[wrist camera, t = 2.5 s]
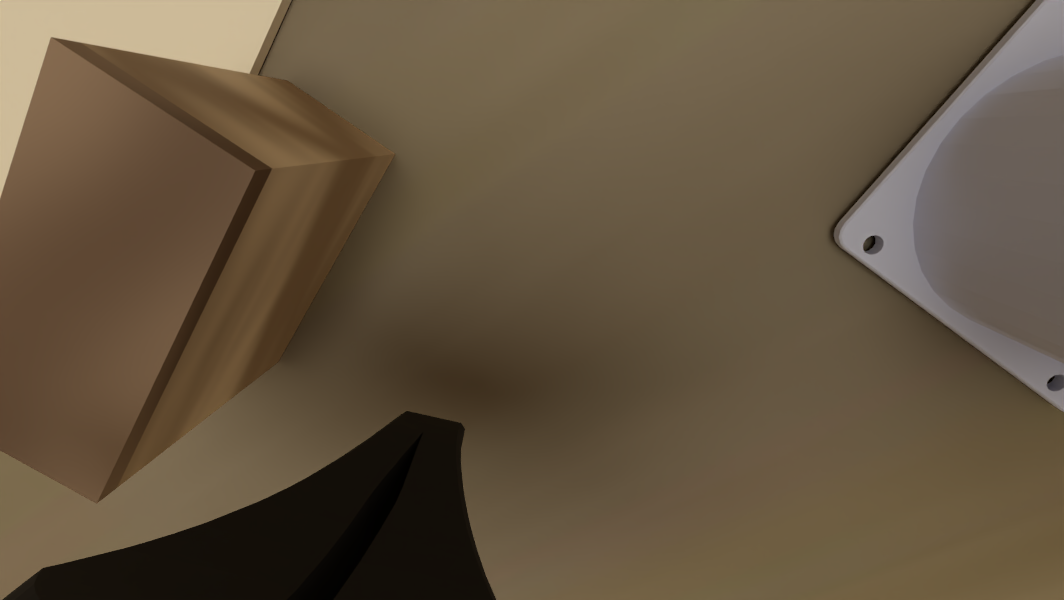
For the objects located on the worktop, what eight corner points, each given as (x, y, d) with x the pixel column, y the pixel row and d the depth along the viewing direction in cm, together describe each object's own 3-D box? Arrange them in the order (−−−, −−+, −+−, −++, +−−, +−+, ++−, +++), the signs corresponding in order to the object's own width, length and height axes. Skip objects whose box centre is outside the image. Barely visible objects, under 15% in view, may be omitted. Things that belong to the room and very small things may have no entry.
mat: (310, -41, 14) (302, -46, 13) (128, 360, 18) (119, 365, 17) (-142, -365, 12) (-164, -381, 12) (-225, 152, 16) (-244, 152, 16)
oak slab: (395, 153, 15) (255, 170, 8) (279, 361, 17) (96, 503, 11) (288, 80, 15) (51, 37, 8) (183, 303, 17) (-69, 413, 10)
